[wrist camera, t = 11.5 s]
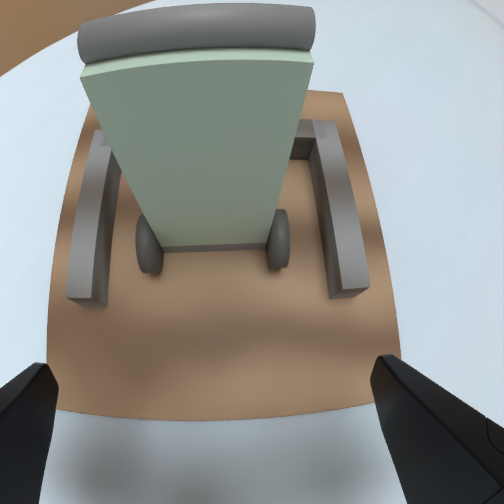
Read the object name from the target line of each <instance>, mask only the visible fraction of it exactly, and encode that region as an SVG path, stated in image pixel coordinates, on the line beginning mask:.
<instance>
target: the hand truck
mask: <svg viewBox="0 0 504 504" xmlns="http://www.w3.org/2000/svg"><path fill="white" fill-rule="evenodd" d="M315 28H316V22H315V14H314V10H313V9H312V8H311V7H304V6H294V5H281V4H263V3H212V4H194V5H182V6H171V7H163V8H155V9H148V10H141V11H135V12H129V13H124V14H118V15H113V16H109V17H104V18H100V19H95V20H91V21H87V22H84V23H82V25H81V26H80V28H79V31H78V38H77V45H78V51H79V55H80V58H81V60H82V61H83V62H84V63H85V64H86V65H85V67H84V69H83V71H82V73H81V76H80V79H81V82H82V84H83V87H84V89H85V91H86V94H87V96H88V99H89V101H90V103H91V105H92V108H93V110H94V112H95V115H96V117H97V119H98V121H99V124H100V126H101V128H102V130H103V132H104V135H105V137H106V139H107V141H108V143H109V145H110V147H111V150H112V152H113V154H114V156H115V158H116V160H117V162H118V164H119V166H120V168H121V170H122V172H123V174H124V176H125V178H126V181H127V183H128V185H129V187H130V188H131V190H132V192H133V194H134V196H135V198H136V200H137V202H138V204H139V206H140V208H141V210H142V212H143V214H142V215H140V216H139V218H138V221H137V225H136V234H135V246H136V256H137V261H138V265H139V268H140V270H141V272H142V273H160V272H161V270H162V267H163V260H164V253H184V252H210V251H236V250H262V249H265V247H266V256H267V262H268V266H269V268H270V269H275V268H287V266H288V263H289V257H290V229H289V221H288V216H287V213H286V210H285V209H276V207H277V203H278V199H279V195H280V192H281V188H282V184H283V180H284V177H285V173H286V169H287V165H288V162H289V158H290V154H291V150H292V146H293V142H294V139H295V135H296V131H297V127H298V123H299V119H300V116H301V112H302V108H303V104H304V100H305V96H306V92H307V88H308V84H309V81H310V77H311V73H312V69H313V65H314V61H313V58H312V55H311V53H310V49H311V48H312V45H313V42H314V37H315Z"/></svg>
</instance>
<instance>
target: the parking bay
mask: <svg viewBox="0 0 504 504" xmlns="http://www.w3.org/2000/svg"><path fill="white" fill-rule="evenodd" d="M276 209H285V210H286V213H287V216H288V221H289V229H290V257H289V263H288V266H287V268H275V269H270V268H269V266H268V262H267V256H266V247H265V249H262V250H236V251H210V252H184V253H164V260H163V267H162V270H161V272H160V273H142V272H141V270H140V268H139V265H138V261H137V256H136V246H135V234H136V225H137V221H138V218H139V216H140V215H142V214H143V212H142V210H141V208H140V206H139V204H138V202H137V200H136V198H135V196H134V194H133V192H132V190H131V188H130V187H129V185H128V183H127V181H126V178H125V176H124V174H123V172H122V170H121V168H120V166H119V164H118V162H117V160H116V158H115V156H114V154H113V152H112V150H111V147H110V145H109V143H108V141H107V139H106V137H105V135H104V132H103V130H102V128H101V126H100V124H99V121H98V119H97V117H96V115H95V112H94V110H93V108H92V105H91V104H90V107H89V110H88V113H87V116H86V119H85V122H84V125H83V128H82V131H81V134H80V138H79V141H78V144H77V148H76V151H75V155H74V159H73V162H72V166H71V170H70V174H69V178H68V182H67V186H66V191H65V195H64V200H63V205H62V210H61V215H60V220H59V225H58V231H57V237H56V243H55V250H54V257H53V265H52V273H51V282H50V293H49V306H48V322H47V365H49V367H50V369H51V371H52V373H53V375H54V377H55V379H56V381H57V382H58V386H59V394H58V399H57V406H56V409H58V410H64V411H71V412H77V413H85V414H92V415H101V416H110V417H121V418H133V419H149V420H174V421H216V420H242V419H258V418H271V417H282V416H292V415H300V414H309V413H316V412H323V411H330V410H336V409H342V408H348V407H354V406H359V405H364V404H369V403H374V402H375V401H374V397H373V393H372V389H371V385H370V376H371V373H372V370H373V367H374V364H375V360H376V358H377V357H378V356H379V355H385V354H393V355H395V356H396V357H398V358H399V359H401V351H400V341H399V333H398V324H397V317H396V309H395V302H394V296H393V289H392V283H391V277H390V271H389V266H388V260H387V255H386V250H385V245H384V240H383V235H382V230H381V226H380V221H379V217H378V213H377V208H376V204H375V200H374V196H373V192H372V188H371V184H370V180H369V177H368V173H367V169H366V166H365V162H364V159H363V155H362V152H361V148H360V145H359V142H358V138H357V135H356V132H355V129H354V126H353V123H352V119H351V116H350V113H349V110H348V108H347V105H346V102H345V99H344V96H343V93H337V92H326V91H314V90H307V92H306V96H305V100H304V104H303V108H302V112H301V116H300V119H299V123H298V127H297V131H296V135H295V139H294V142H293V146H292V150H291V154H290V158H289V162H288V165H287V169H286V173H285V177H284V180H283V184H282V188H281V192H280V195H279V199H278V203H277V207H276Z"/></svg>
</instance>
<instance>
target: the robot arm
mask: <svg viewBox="0 0 504 504" xmlns="http://www.w3.org/2000/svg"><path fill="white" fill-rule="evenodd" d="M370 385H371V389H372V393H373V397H374V401H375V405H376V409H377V413H378V417H379V421H380V425H381V429H382V432H383V435H384V438H385V441H386V443H387V446H388V449H389V452H390V454H391V457H392V460H393V463H394V466H395V469H396V472H397V475H398V477H399V480H400V483H401V486H402V489H403V492H404V495H405V498H406V502H407V504H504V428H503V427H501V426H500V425H498V424H496V423H495V422H493V421H492V420H490V419H489V418H486V417H485V416H484V415H483V414H481V413H480V412H478V411H477V410H475V409H474V408H472V407H471V406H469V405H468V404H466V403H465V402H463V401H462V400H460V399H459V398H457V397H456V396H454V395H453V394H451V393H450V392H448V391H447V390H445V389H444V388H442V387H441V386H439V385H438V384H436V383H435V382H433V381H432V380H430V379H429V378H427V377H426V376H424V375H423V374H421V373H420V372H418V371H417V370H416V369H414V368H413V367H411V366H410V365H408V364H407V363H405V362H404V361H402V360H401V359H399V358H398V357H396V356H395V355H393V354H385V355H379V356H378V357H377V358H376V360H375V364H374V367H373V370H372V373H371V376H370ZM58 394H59V386H58V382H57V381H56V379H55V377H54V375H53V373H52V371H51V369H50V367H49V365H47V364H46V363H38V362H36V363H33V364H32V365H31V366H29V367H28V368H27V369H25V370H24V371H23V372H21V373H20V374H19V375H17V376H16V377H15V378H13V379H12V380H11V381H9V382H8V383H7V384H5V385H4V386H3V387H2V388H0V504H39V499H40V492H41V486H42V481H43V475H44V470H45V465H46V460H47V456H48V451H49V447H50V442H51V438H52V432H53V426H54V419H55V412H56V406H57V399H58Z"/></svg>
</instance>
